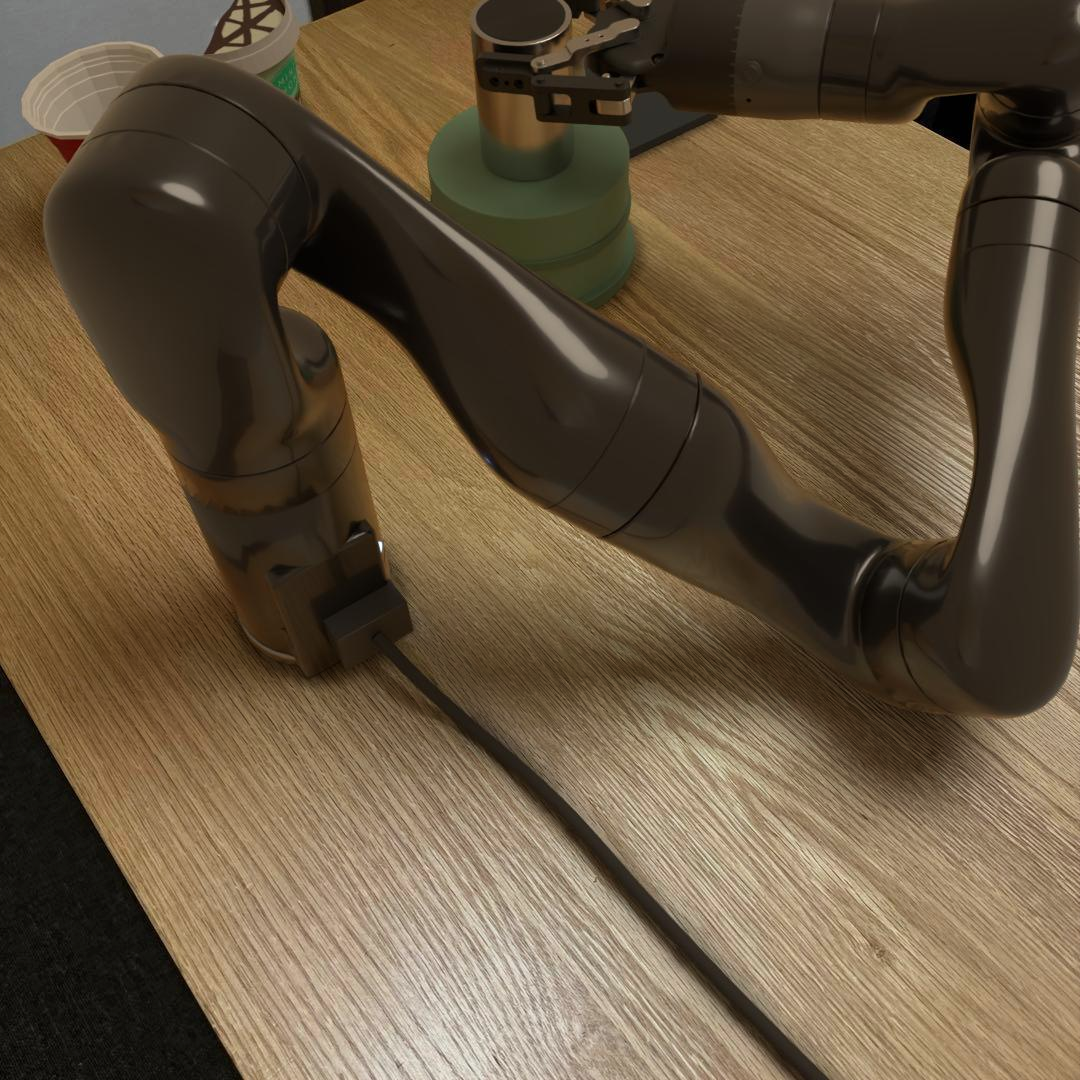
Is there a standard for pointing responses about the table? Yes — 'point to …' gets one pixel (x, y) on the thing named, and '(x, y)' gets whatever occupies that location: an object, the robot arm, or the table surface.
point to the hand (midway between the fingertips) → (502, 32)
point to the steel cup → (509, 119)
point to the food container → (260, 41)
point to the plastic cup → (81, 90)
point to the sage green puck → (545, 207)
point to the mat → (655, 120)
